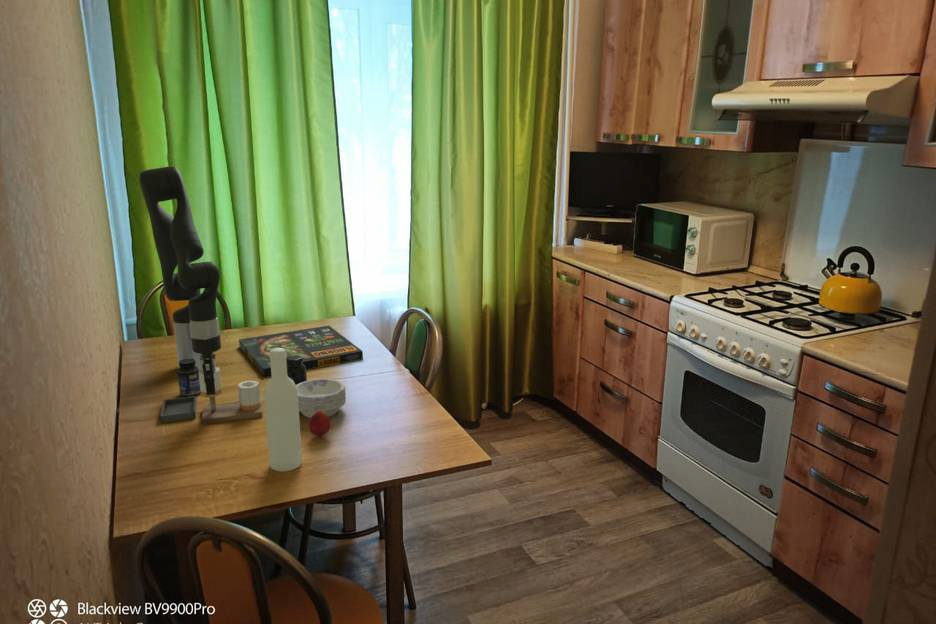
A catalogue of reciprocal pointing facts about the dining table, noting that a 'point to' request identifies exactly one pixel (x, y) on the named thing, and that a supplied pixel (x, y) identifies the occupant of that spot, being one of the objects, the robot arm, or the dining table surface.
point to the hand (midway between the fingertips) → (211, 390)
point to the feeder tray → (178, 409)
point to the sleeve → (217, 383)
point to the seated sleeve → (249, 395)
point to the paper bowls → (320, 396)
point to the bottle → (282, 416)
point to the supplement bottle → (296, 369)
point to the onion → (319, 424)
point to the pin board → (226, 412)
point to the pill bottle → (188, 378)
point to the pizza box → (302, 348)
